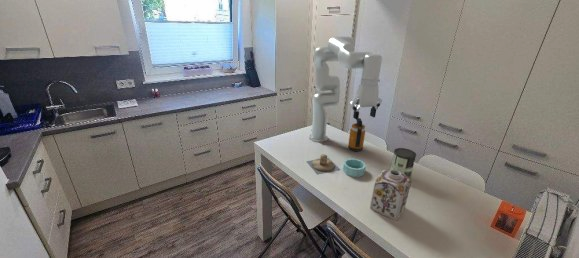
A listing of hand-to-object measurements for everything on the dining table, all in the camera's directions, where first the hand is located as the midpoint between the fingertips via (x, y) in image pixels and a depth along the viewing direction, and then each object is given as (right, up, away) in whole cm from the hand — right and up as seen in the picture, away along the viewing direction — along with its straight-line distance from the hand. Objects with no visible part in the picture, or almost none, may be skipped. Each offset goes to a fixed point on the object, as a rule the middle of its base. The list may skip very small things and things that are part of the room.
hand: (364, 117), depth 121 cm
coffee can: (+22, -30, +10) cm, 39 cm away
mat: (-18, -26, +17) cm, 36 cm away
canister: (+5, -19, +37) cm, 42 cm away
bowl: (-2, -28, +13) cm, 31 cm away
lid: (-18, -26, +17) cm, 35 cm away
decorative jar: (+6, -40, -13) cm, 42 cm away
